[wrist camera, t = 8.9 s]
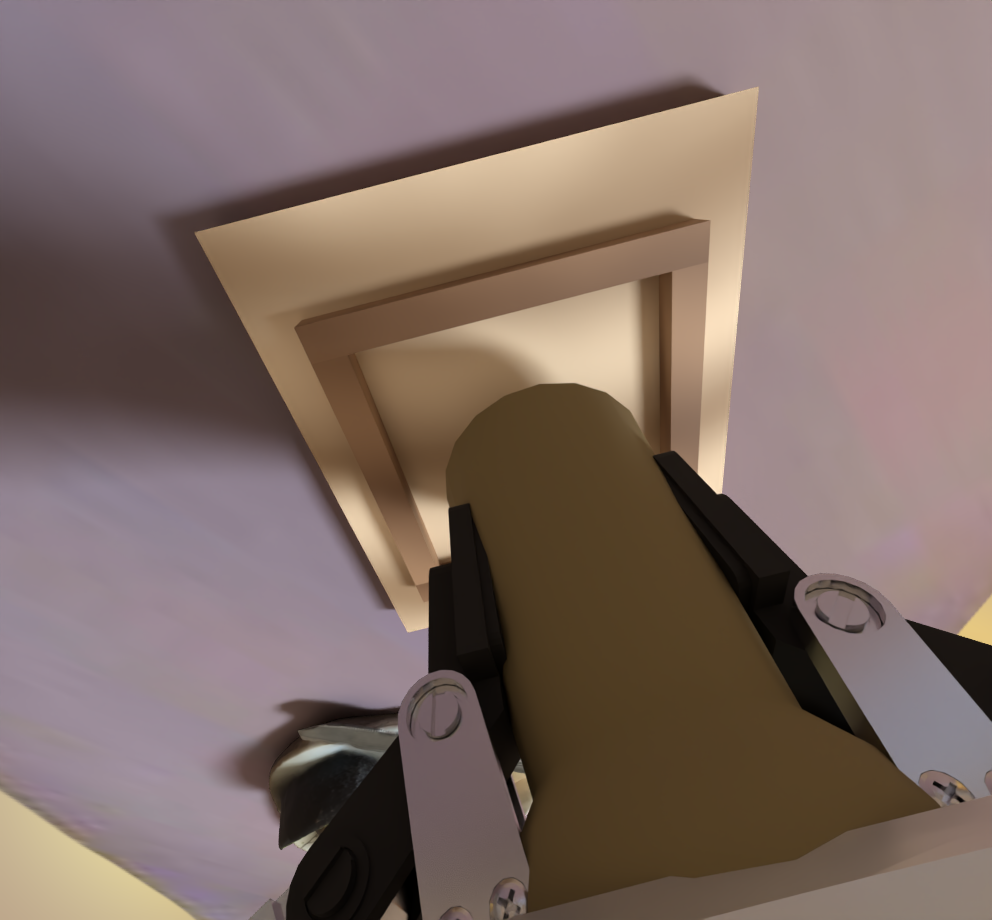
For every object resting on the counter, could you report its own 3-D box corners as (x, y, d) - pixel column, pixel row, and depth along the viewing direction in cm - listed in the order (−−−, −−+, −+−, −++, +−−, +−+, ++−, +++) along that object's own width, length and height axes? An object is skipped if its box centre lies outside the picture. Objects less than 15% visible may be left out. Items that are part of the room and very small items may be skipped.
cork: (403, 446, 11) (293, 1506, 2) (613, 340, 11) (1800, 1267, 1) (499, 580, 15) (622, 1249, 5) (666, 506, 14) (1151, 1135, 5)
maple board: (215, 229, 11) (177, 234, 10) (729, 96, 11) (782, 79, 10) (408, 610, 20) (407, 648, 18) (701, 535, 20) (726, 567, 18)
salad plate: (606, 672, 26) (638, 758, 22) (555, 805, 35) (571, 882, 31) (256, 695, 22) (219, 800, 18) (300, 835, 31) (282, 925, 28)
